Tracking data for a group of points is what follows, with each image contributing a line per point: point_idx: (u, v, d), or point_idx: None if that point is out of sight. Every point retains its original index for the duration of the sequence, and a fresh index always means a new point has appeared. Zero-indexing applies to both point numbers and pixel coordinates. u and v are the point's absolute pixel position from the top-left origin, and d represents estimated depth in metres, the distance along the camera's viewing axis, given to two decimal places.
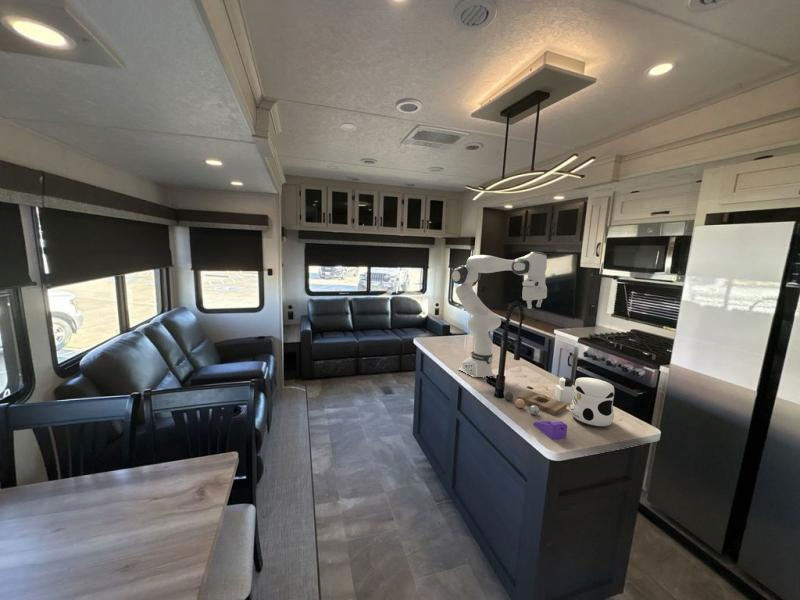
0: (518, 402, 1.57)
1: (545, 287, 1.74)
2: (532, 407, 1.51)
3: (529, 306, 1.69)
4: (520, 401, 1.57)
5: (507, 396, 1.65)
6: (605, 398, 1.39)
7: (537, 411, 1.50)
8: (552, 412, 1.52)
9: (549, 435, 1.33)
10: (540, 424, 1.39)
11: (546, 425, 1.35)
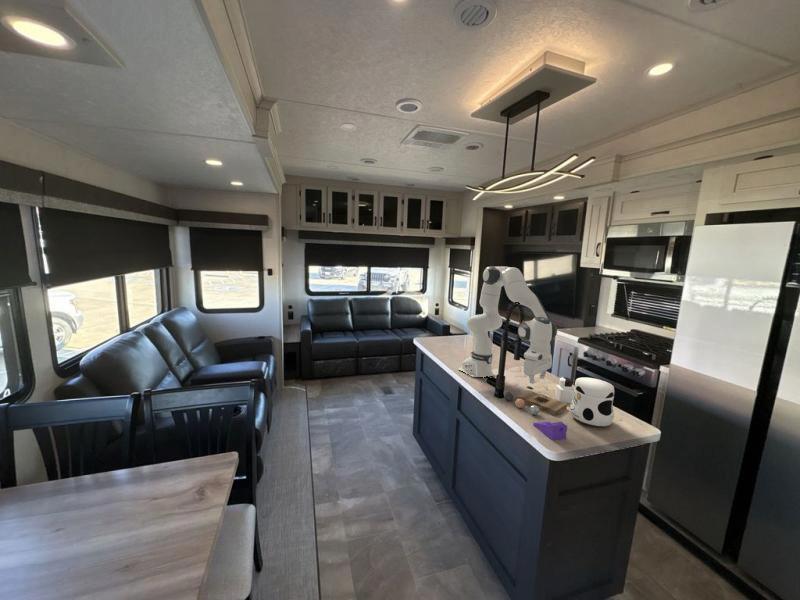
0: (518, 402, 1.57)
1: (550, 356, 1.52)
2: (532, 407, 1.51)
3: (531, 381, 1.46)
4: (520, 401, 1.57)
5: (507, 396, 1.65)
6: (605, 398, 1.39)
7: (537, 411, 1.50)
8: (552, 412, 1.52)
9: (549, 436, 1.32)
10: (540, 425, 1.38)
11: (546, 426, 1.34)
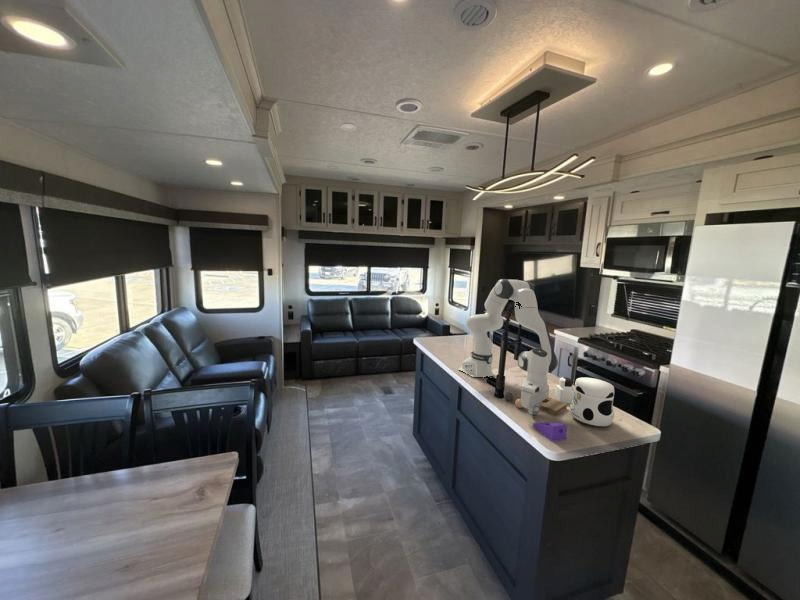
0: (518, 402, 1.57)
1: (547, 386, 1.54)
2: None
3: (530, 411, 1.50)
4: (520, 401, 1.57)
5: (507, 396, 1.65)
6: (605, 398, 1.39)
7: (537, 411, 1.50)
8: (552, 412, 1.52)
9: (549, 437, 1.32)
10: (539, 426, 1.37)
11: (546, 427, 1.34)
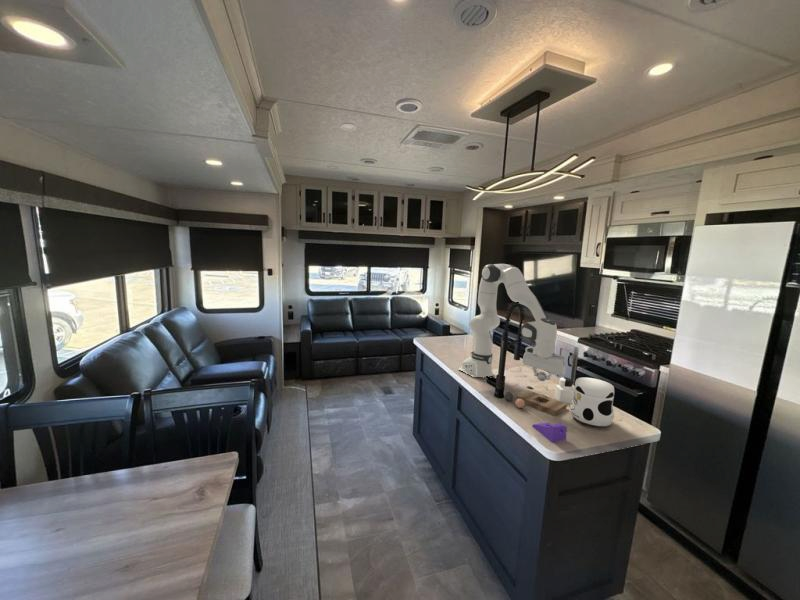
0: (518, 402, 1.57)
1: (557, 361, 1.52)
2: None
3: None
4: (520, 401, 1.57)
5: (507, 396, 1.65)
6: (605, 398, 1.39)
7: (538, 376, 1.59)
8: (552, 412, 1.52)
9: (549, 437, 1.31)
10: (539, 426, 1.37)
11: (545, 427, 1.33)
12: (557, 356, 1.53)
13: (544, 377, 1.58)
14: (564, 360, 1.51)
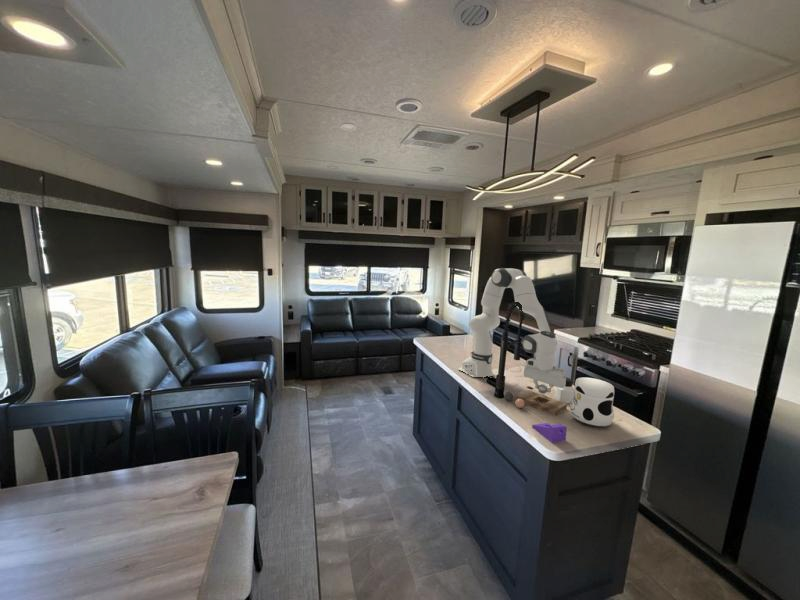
0: (518, 402, 1.57)
1: (557, 374, 1.54)
2: None
3: None
4: (520, 401, 1.57)
5: (507, 396, 1.65)
6: (605, 398, 1.39)
7: (539, 388, 1.61)
8: (552, 412, 1.52)
9: (549, 438, 1.31)
10: (539, 427, 1.36)
11: (545, 428, 1.33)
12: (557, 369, 1.55)
13: (545, 389, 1.60)
14: (564, 373, 1.53)
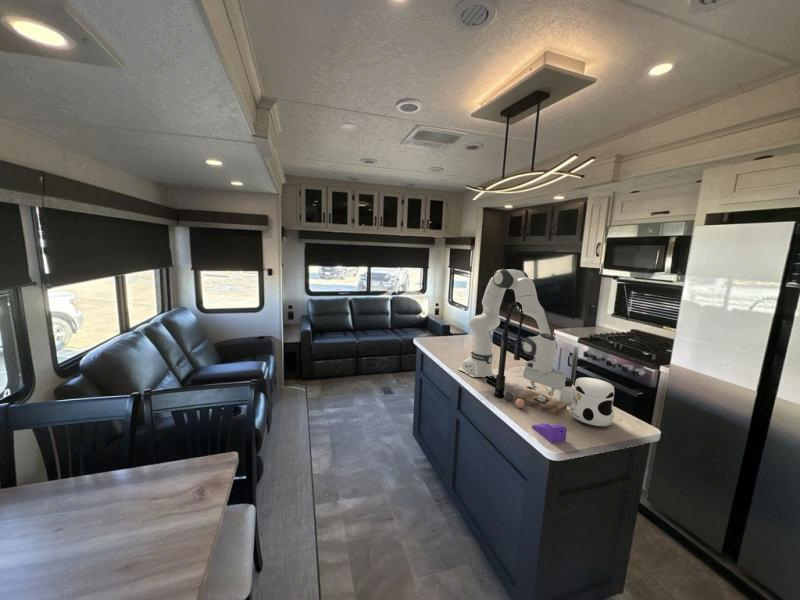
0: (518, 402, 1.57)
1: (556, 376, 1.54)
2: (539, 396, 1.64)
3: None
4: (520, 401, 1.57)
5: (507, 396, 1.65)
6: (605, 398, 1.39)
7: (537, 400, 1.62)
8: (552, 412, 1.52)
9: (549, 439, 1.30)
10: (539, 427, 1.36)
11: (545, 428, 1.32)
12: (556, 371, 1.55)
13: (543, 401, 1.61)
14: (563, 375, 1.53)
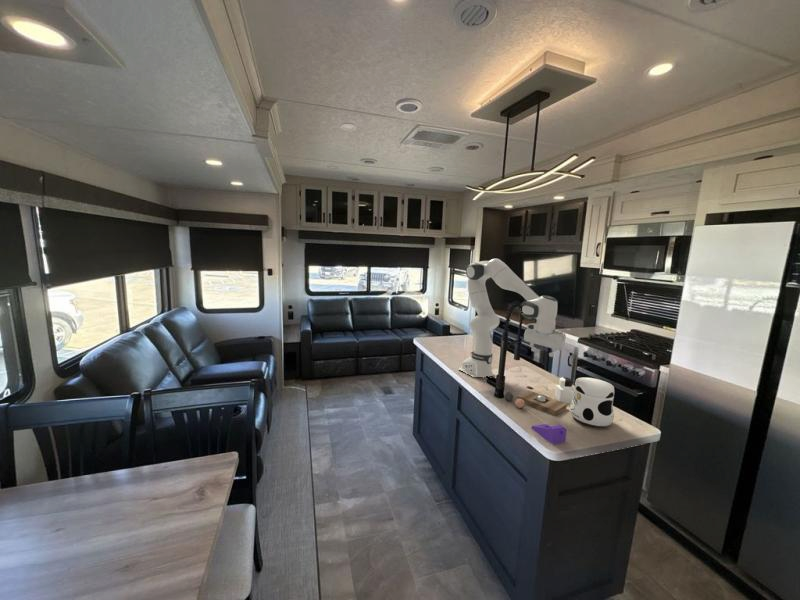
0: (518, 402, 1.57)
1: (556, 336, 1.56)
2: (538, 396, 1.64)
3: None
4: (520, 401, 1.57)
5: (507, 396, 1.65)
6: (605, 398, 1.39)
7: (537, 400, 1.62)
8: (552, 412, 1.52)
9: (549, 439, 1.30)
10: (538, 428, 1.35)
11: (545, 429, 1.32)
12: (557, 332, 1.57)
13: (543, 401, 1.61)
14: (563, 336, 1.55)
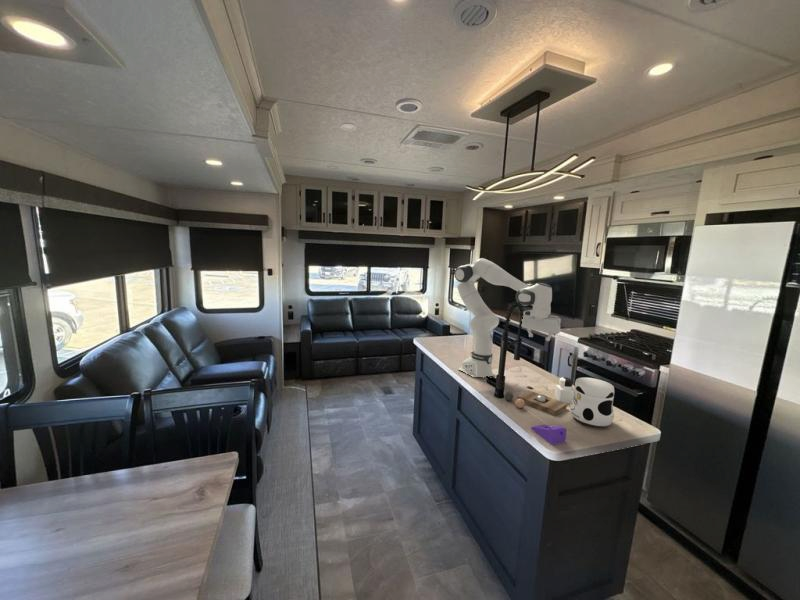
0: (518, 402, 1.57)
1: (552, 321, 1.64)
2: (538, 396, 1.64)
3: None
4: (520, 401, 1.57)
5: (507, 396, 1.65)
6: (605, 398, 1.39)
7: (537, 400, 1.62)
8: (552, 412, 1.52)
9: (549, 440, 1.29)
10: (538, 429, 1.35)
11: (545, 430, 1.31)
12: (552, 317, 1.65)
13: (542, 400, 1.61)
14: (559, 320, 1.62)
